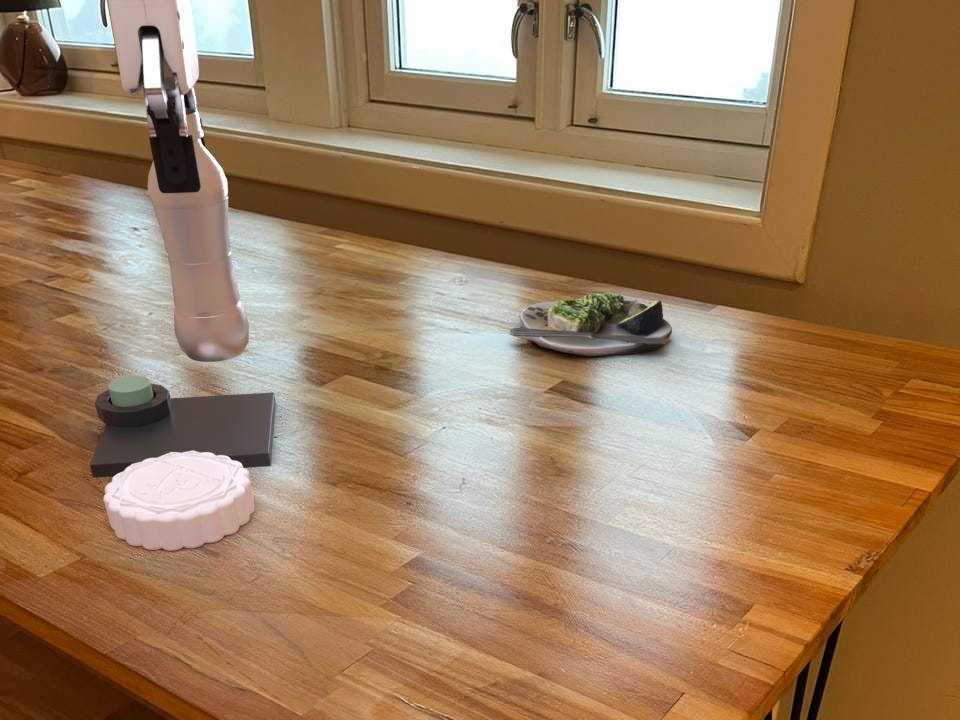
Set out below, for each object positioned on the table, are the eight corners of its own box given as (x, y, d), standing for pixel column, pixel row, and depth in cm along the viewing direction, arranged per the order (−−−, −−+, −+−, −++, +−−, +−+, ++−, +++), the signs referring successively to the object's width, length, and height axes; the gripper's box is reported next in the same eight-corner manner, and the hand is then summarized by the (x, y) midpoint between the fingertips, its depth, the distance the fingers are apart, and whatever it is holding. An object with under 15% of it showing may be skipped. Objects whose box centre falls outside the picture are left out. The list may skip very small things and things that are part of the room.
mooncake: (80, 527, 81) (69, 489, 79) (184, 470, 89) (177, 434, 87) (183, 568, 76) (174, 528, 74) (284, 503, 84) (278, 466, 82)
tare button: (108, 410, 93) (104, 393, 92) (115, 393, 96) (111, 376, 95) (151, 407, 94) (147, 390, 93) (156, 391, 97) (152, 374, 96)
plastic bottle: (165, 363, 87) (113, 116, 75) (211, 339, 92) (170, 102, 80) (222, 375, 85) (178, 122, 73) (267, 349, 90) (233, 108, 78)
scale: (82, 479, 88) (73, 449, 86) (109, 412, 99) (102, 385, 97) (270, 466, 89) (266, 437, 88) (276, 402, 101) (272, 375, 99)
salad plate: (530, 373, 107) (531, 332, 104) (487, 319, 120) (487, 281, 118) (691, 355, 111) (696, 315, 108) (631, 305, 124) (635, 268, 121)
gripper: (104, -92, 75) (153, 160, 86) (57, -90, 61) (122, 209, 72) (202, -92, 76) (238, 157, 87) (177, -90, 62) (223, 206, 73)
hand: (185, 179), depth 79 cm, fingers closed on plastic bottle, 6 cm apart
